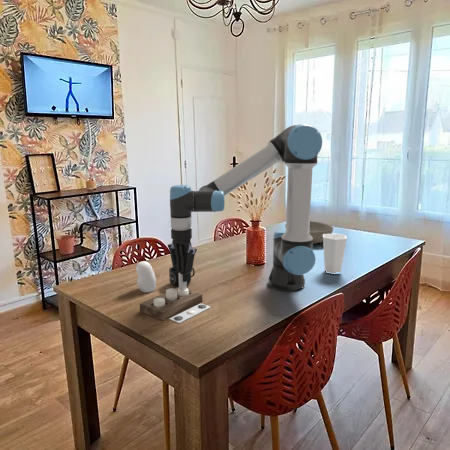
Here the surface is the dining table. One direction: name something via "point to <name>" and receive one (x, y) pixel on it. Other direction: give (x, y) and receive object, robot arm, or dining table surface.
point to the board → (170, 305)
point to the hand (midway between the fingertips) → (182, 289)
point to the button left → (159, 302)
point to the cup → (333, 251)
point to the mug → (174, 277)
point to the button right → (183, 292)
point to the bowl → (319, 231)
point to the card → (189, 313)
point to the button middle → (171, 295)
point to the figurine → (145, 277)
